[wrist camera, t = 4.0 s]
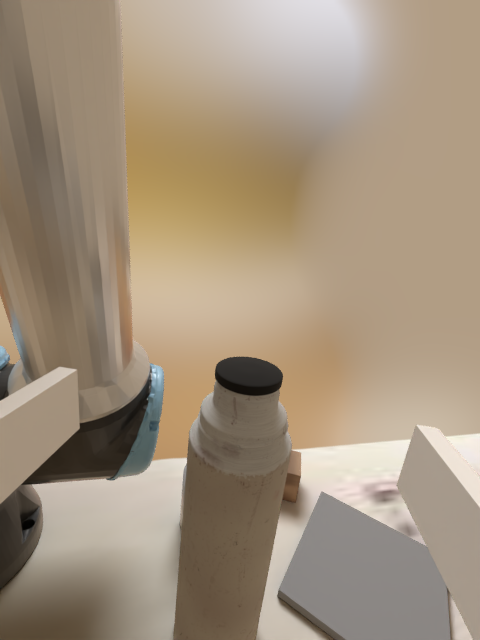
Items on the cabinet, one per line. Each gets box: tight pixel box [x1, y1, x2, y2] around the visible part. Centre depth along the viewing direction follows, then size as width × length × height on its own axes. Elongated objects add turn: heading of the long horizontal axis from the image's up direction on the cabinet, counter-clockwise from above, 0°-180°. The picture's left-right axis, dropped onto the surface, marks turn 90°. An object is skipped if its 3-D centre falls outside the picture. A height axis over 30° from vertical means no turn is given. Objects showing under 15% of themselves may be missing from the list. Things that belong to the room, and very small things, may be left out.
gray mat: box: [278, 492, 451, 640], centre depth 35 cm, size 16×16×1 cm
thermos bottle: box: [174, 357, 292, 640], centre depth 25 cm, size 8×8×28 cm
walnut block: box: [282, 450, 301, 503], centre depth 46 cm, size 5×5×5 cm
